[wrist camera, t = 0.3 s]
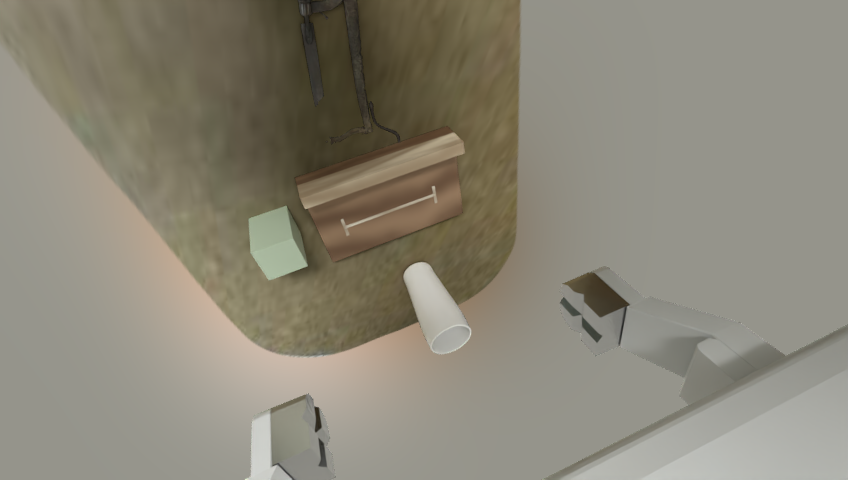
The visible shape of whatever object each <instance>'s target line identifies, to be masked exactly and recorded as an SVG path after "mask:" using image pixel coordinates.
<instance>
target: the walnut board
mask: <svg viewBox="0 0 848 480" xmlns="http://www.w3.org/2000/svg"><path fill="white" fill-rule="evenodd" d="M464 153H465V152H464V142H463V141H462V140H461V139H460V138H459V137H458V136H457V135H456V134H455V133H454V132H453V131H452V130H451V129H450V128H449V127H448V126H446V127H443V128H440V129H437V130H434V131H431V132H428V133H425V134H422V135H419V136H416V137H413V138H410V139H408V140H405V141H402V142H399V143H396V144H393V145H390V146H387V147H384V148H381V149H378V150H375V151H372V152H369V153H366V154H363V155H360V156H357V157H354V158H351V159H348V160H345V161H342V162H339V163H336V164H333V165H331V166H328V167H325V168H322V169H319V170H316V171H313V172H310V173H307V174H304V175H301V176H298V177H295V180H296V184H297V188H298V192H299V197H300V200H301V202H302V204H303V206H304V208H305V209H308V210H309V212H310V215H311V217H312V219H313V221H314V223H315V225H316V227H317V229H318V232H319V234H320V236H321V238H322V240H323V242H324V244H325V246H326V248H327V251H328V253H329V255H330V257H331V259H332V261H333V262H336V261H338V260H341V259H343V258H346V257H349V256H351V255H354V254H357V253H359V252H362V251H365V250H367V249H370V248H372V247H375V246H378V245H380V244H383V243H386V242H388V241H391V240H394V239H396V238H399V237H402V236H404V235H407V234H409V233H412V232H415V231H417V230H420V229H423V228H425V227H428V226H431V225H433V224H436V223H438V222H441V221H444V220H446V219H449V218H452V217H454V216H457V215H460V214H462V213H463V210H462V201H461V192H460V183H459V174H458V165H457V157H456V156H458V155H461V154H464Z"/></svg>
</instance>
